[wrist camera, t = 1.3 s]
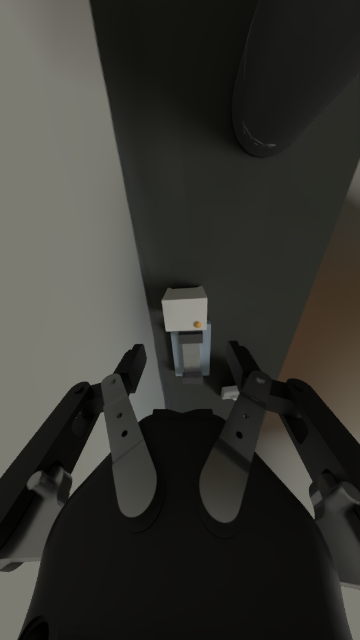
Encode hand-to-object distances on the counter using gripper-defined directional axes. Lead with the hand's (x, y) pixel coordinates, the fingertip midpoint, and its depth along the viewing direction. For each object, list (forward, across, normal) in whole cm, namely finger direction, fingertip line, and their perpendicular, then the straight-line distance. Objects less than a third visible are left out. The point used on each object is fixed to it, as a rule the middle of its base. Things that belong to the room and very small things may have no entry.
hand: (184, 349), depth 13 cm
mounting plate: (+14, -1, +11) cm, 18 cm away
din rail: (+13, -1, +11) cm, 17 cm away
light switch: (+15, -12, +21) cm, 28 cm away
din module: (+14, 0, 0) cm, 14 cm away
